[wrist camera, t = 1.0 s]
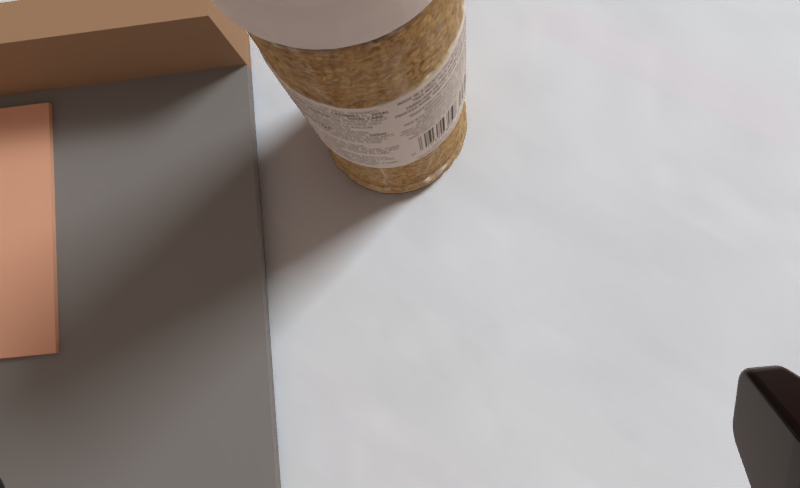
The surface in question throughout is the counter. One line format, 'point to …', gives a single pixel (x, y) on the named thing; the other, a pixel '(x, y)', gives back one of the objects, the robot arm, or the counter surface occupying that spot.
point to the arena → (131, 250)
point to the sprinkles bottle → (370, 80)
